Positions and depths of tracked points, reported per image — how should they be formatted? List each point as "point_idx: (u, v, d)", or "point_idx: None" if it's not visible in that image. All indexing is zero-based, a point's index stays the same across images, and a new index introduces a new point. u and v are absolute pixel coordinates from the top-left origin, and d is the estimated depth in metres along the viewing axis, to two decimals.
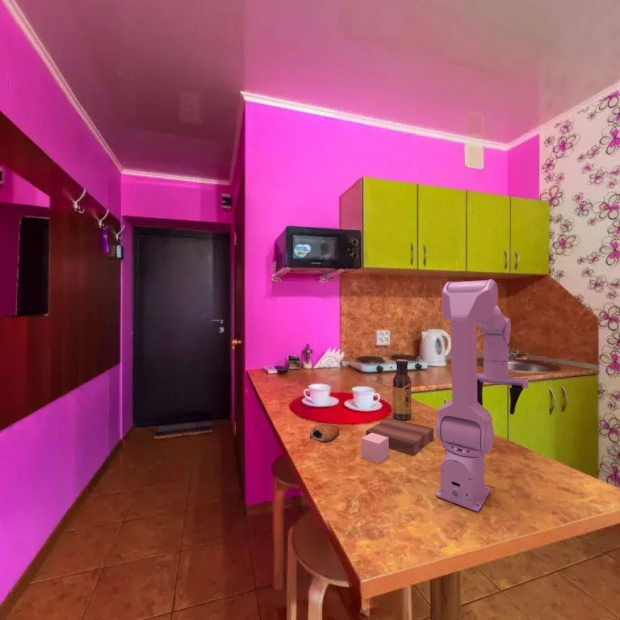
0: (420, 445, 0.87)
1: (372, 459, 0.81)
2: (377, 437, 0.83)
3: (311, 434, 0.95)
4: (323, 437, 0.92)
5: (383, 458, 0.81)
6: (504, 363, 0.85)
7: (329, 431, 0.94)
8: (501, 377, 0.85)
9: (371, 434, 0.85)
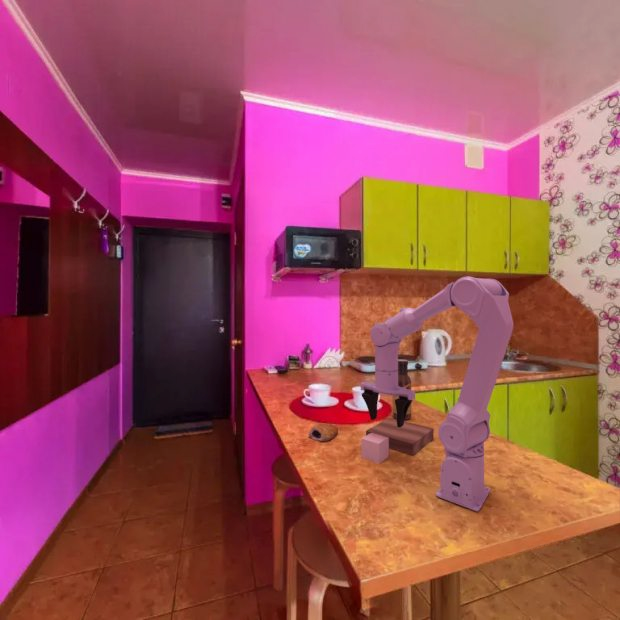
0: (420, 445, 0.87)
1: (372, 459, 0.81)
2: (377, 437, 0.83)
3: (310, 434, 0.95)
4: (322, 437, 0.92)
5: (383, 458, 0.81)
6: (391, 373, 0.81)
7: (328, 431, 0.94)
8: (388, 388, 0.80)
9: (371, 434, 0.85)
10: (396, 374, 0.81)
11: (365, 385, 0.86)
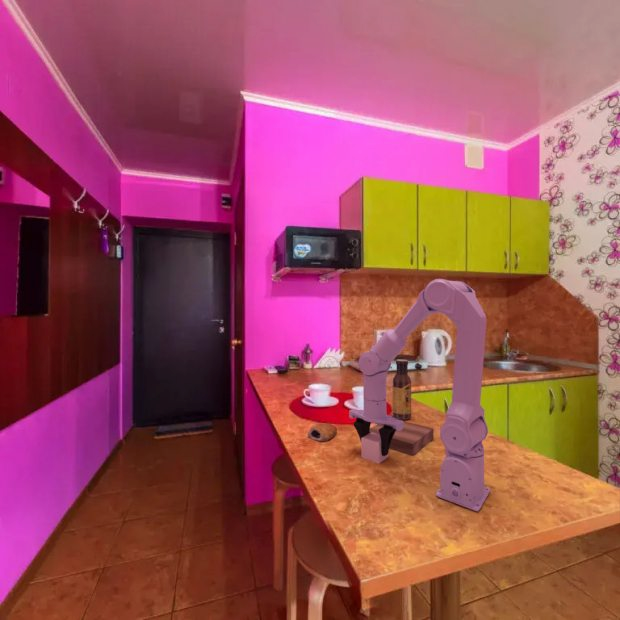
0: (420, 445, 0.87)
1: (372, 459, 0.81)
2: (377, 437, 0.83)
3: (309, 434, 0.95)
4: (321, 437, 0.92)
5: (383, 458, 0.81)
6: (380, 403, 0.80)
7: (327, 430, 0.94)
8: (376, 418, 0.80)
9: (371, 434, 0.85)
10: (384, 403, 0.81)
11: (354, 413, 0.86)
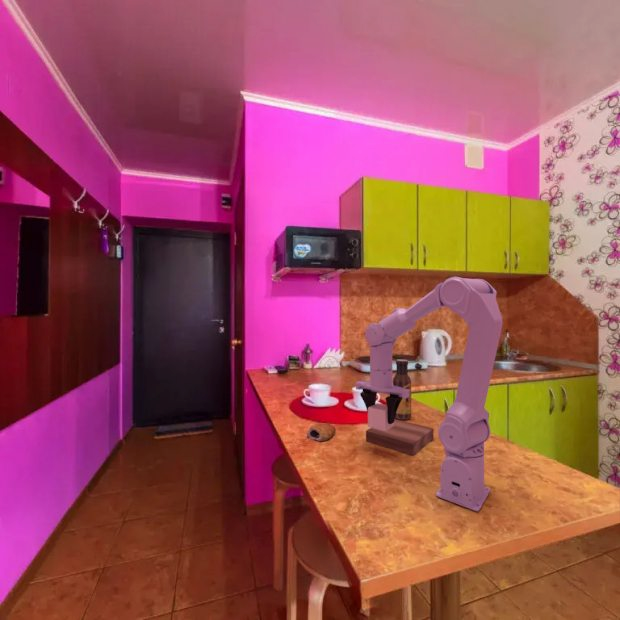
0: (420, 445, 0.87)
1: (378, 427, 0.83)
2: (383, 407, 0.85)
3: (308, 434, 0.95)
4: (320, 436, 0.92)
5: (389, 426, 0.84)
6: (386, 372, 0.83)
7: (326, 430, 0.94)
8: (383, 387, 0.82)
9: (377, 404, 0.88)
10: (390, 373, 0.83)
11: (360, 384, 0.88)
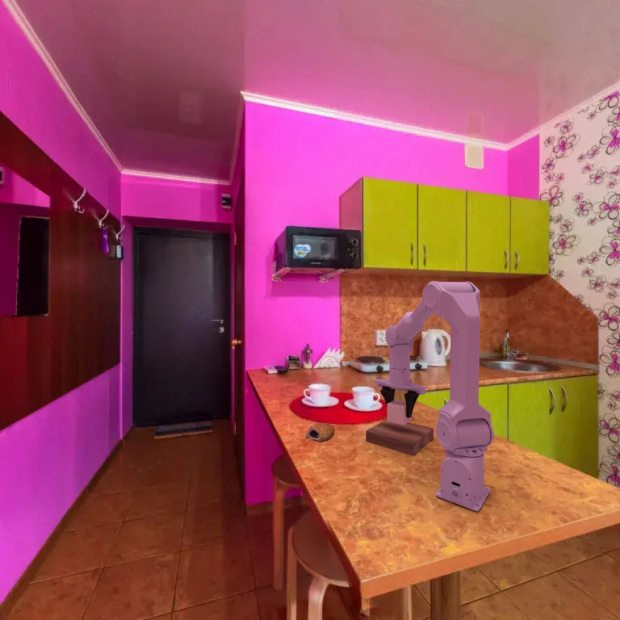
0: (420, 445, 0.87)
1: (397, 421, 0.91)
2: (401, 403, 0.93)
3: (307, 434, 0.95)
4: (320, 436, 0.92)
5: (407, 420, 0.91)
6: (405, 371, 0.91)
7: (326, 430, 0.94)
8: (401, 384, 0.90)
9: (395, 401, 0.95)
10: (408, 372, 0.91)
11: (380, 382, 0.96)
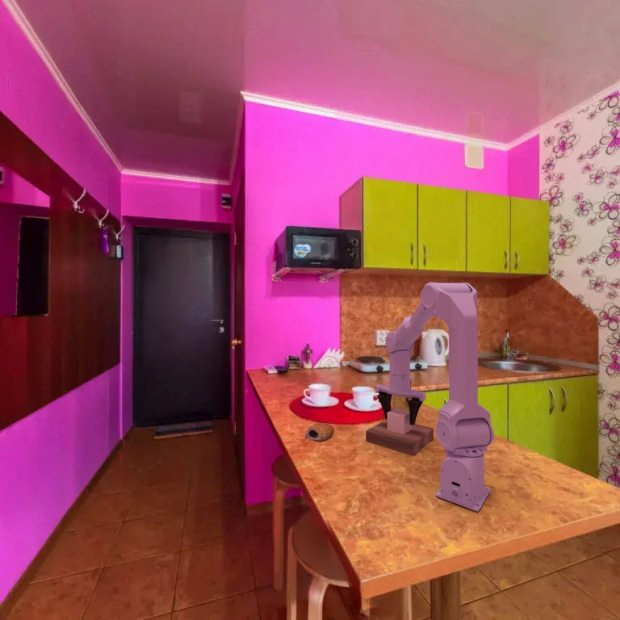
0: (420, 445, 0.87)
1: (397, 430, 0.91)
2: (401, 412, 0.93)
3: (307, 434, 0.95)
4: (319, 436, 0.92)
5: (407, 430, 0.91)
6: (405, 377, 0.91)
7: (325, 430, 0.94)
8: (401, 391, 0.90)
9: (395, 409, 0.95)
10: (408, 378, 0.91)
11: (380, 388, 0.96)
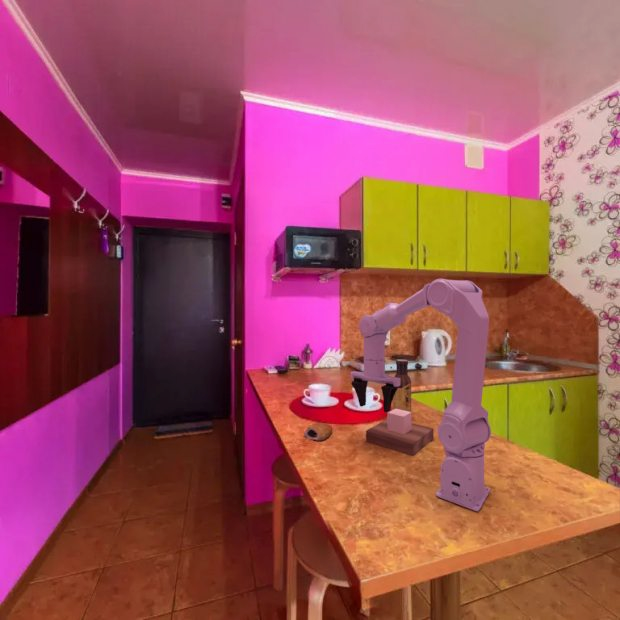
0: (420, 445, 0.87)
1: (397, 430, 0.91)
2: (401, 412, 0.93)
3: (305, 434, 0.95)
4: (318, 436, 0.93)
5: (407, 430, 0.91)
6: (378, 362, 0.86)
7: (324, 430, 0.95)
8: (375, 376, 0.86)
9: (395, 409, 0.95)
10: (383, 363, 0.87)
11: (354, 374, 0.92)
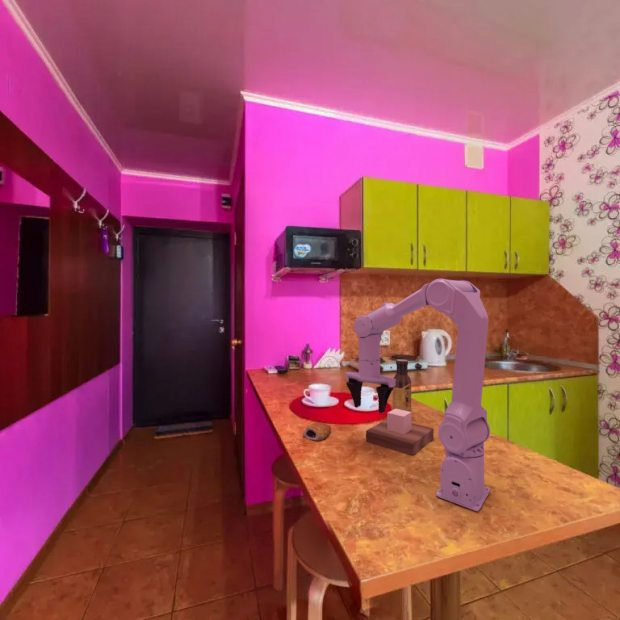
0: (420, 445, 0.87)
1: (397, 430, 0.91)
2: (401, 412, 0.93)
3: (304, 434, 0.95)
4: (317, 436, 0.93)
5: (407, 430, 0.91)
6: (373, 362, 0.86)
7: (323, 430, 0.95)
8: (370, 377, 0.86)
9: (395, 409, 0.95)
10: (378, 363, 0.86)
11: (349, 374, 0.91)
